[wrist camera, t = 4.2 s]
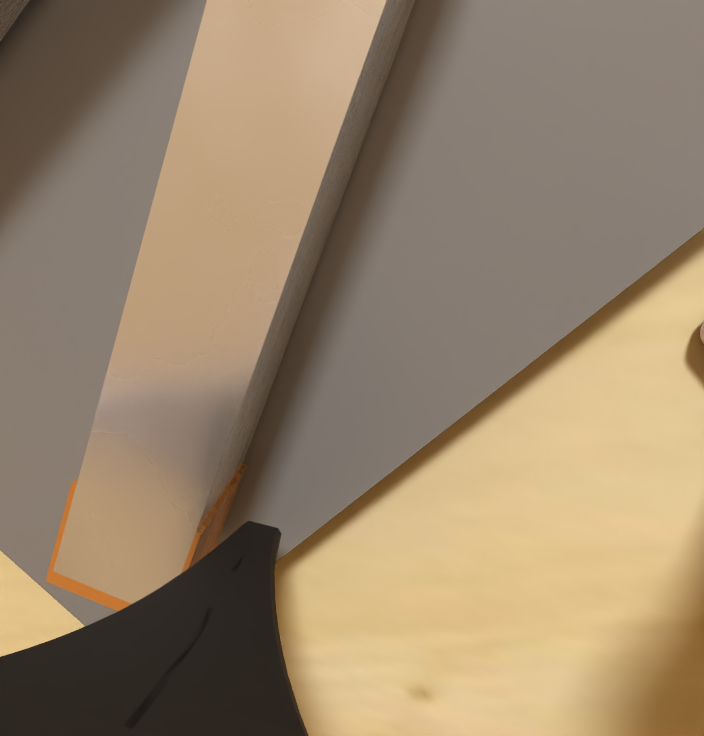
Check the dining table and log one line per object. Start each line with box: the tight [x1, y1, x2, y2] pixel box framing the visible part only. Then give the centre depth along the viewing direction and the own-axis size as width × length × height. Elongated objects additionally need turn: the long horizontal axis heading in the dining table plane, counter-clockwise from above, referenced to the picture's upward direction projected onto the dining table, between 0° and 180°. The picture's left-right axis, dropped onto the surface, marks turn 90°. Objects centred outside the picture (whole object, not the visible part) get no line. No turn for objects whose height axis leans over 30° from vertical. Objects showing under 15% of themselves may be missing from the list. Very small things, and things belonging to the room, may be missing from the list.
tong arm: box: [46, 0, 416, 611], centre depth 10 cm, size 16×3×3 cm, turn 158°
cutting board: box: [0, 0, 704, 626], centre depth 12 cm, size 20×24×1 cm
